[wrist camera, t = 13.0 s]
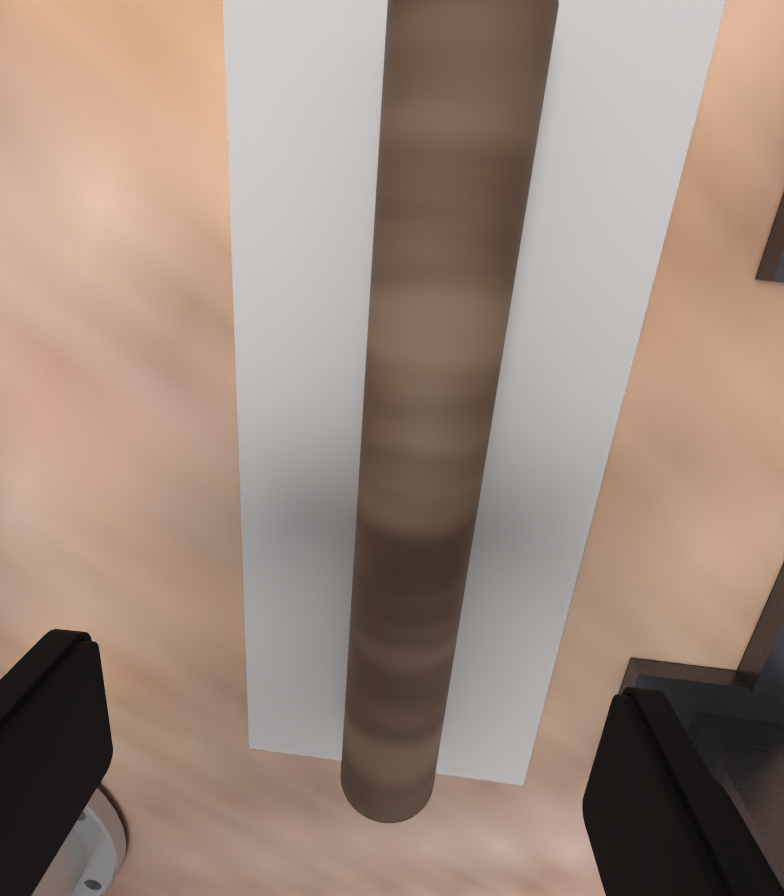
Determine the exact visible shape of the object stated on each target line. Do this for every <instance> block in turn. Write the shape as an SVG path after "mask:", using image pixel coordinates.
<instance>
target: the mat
mask: <svg viewBox="0 0 784 896" xmlns="http://www.w3.org/2000/svg"><path fill="white" fill-rule="evenodd" d="M387 4H388V0H223V21H224V50H225V78H226V107H227V136H228V164H229V193H230V222H231V251H232V279H233V308H234V337H235V365H236V394H237V423H238V452H239V480H240V509H241V538H242V566H243V595H244V624H245V653H246V681H247V710H248V739H249V749H256V750H263V751H271V752H278V753H286V754H293V755H300V756H308V757H315V758H323V759H330V760H337V761H342V746H343V729H344V713H345V696H346V680H347V663H348V647H349V630H350V614H351V597H352V581H353V564H354V548H355V531H356V515H357V498H358V482H359V466H360V449H361V433H362V416H363V400H364V383H365V367H366V350H367V334H368V317H369V301H370V284H371V268H372V251H373V235H374V218H375V202H376V185H377V169H378V153H379V136H380V120H381V103H382V87H383V70H384V54H385V37H386V21H387ZM725 4H726V0H559V7H558V14H557V20H556V26H555V32H554V38H553V45H552V51H551V57H550V63H549V69H548V76H547V82H546V88H545V94H544V101H543V107H542V113H541V119H540V125H539V132H538V138H537V144H536V150H535V157H534V163H533V169H532V175H531V181H530V188H529V194H528V200H527V206H526V212H525V219H524V225H523V231H522V237H521V244H520V250H519V256H518V262H517V268H516V275H515V281H514V287H513V293H512V299H511V306H510V312H509V318H508V324H507V331H506V337H505V343H504V349H503V355H502V362H501V368H500V374H499V380H498V387H497V393H496V399H495V405H494V411H493V418H492V424H491V430H490V436H489V442H488V449H487V455H486V461H485V467H484V474H483V480H482V486H481V492H480V498H479V505H478V511H477V517H476V523H475V529H474V536H473V542H472V548H471V554H470V561H469V567H468V573H467V579H466V585H465V592H464V598H463V604H462V610H461V617H460V623H459V629H458V635H457V641H456V648H455V654H454V660H453V666H452V672H451V679H450V685H449V691H448V697H447V704H446V710H445V716H444V722H443V728H442V735H441V741H440V747H439V753H438V759H437V766H436V772H435V774H441V775H448V776H456V777H463V778H471V779H478V780H485V781H493V782H500V783H508V784H515V785H522V786H523V785H524V781H525V777H526V773H527V769H528V766H529V762H530V758H531V754H532V750H533V746H534V742H535V739H536V735H537V731H538V727H539V723H540V719H541V715H542V711H543V708H544V704H545V700H546V696H547V692H548V688H549V684H550V681H551V677H552V673H553V669H554V665H555V661H556V657H557V653H558V650H559V646H560V642H561V638H562V634H563V630H564V626H565V623H566V619H567V615H568V611H569V607H570V603H571V599H572V595H573V592H574V588H575V584H576V580H577V576H578V572H579V568H580V564H581V561H582V557H583V553H584V549H585V545H586V541H587V537H588V534H589V530H590V526H591V522H592V518H593V514H594V510H595V506H596V503H597V499H598V495H599V491H600V487H601V483H602V479H603V476H604V472H605V468H606V464H607V460H608V456H609V452H610V448H611V445H612V441H613V437H614V433H615V429H616V425H617V421H618V418H619V414H620V410H621V406H622V402H623V398H624V394H625V390H626V387H627V383H628V379H629V375H630V371H631V367H632V363H633V359H634V356H635V352H636V348H637V344H638V340H639V336H640V332H641V329H642V325H643V321H644V317H645V313H646V309H647V305H648V301H649V298H650V294H651V290H652V286H653V282H654V278H655V274H656V271H657V267H658V263H659V259H660V255H661V251H662V247H663V243H664V240H665V236H666V232H667V228H668V224H669V220H670V216H671V213H672V209H673V205H674V201H675V197H676V193H677V189H678V185H679V182H680V178H681V174H682V170H683V166H684V162H685V158H686V154H687V151H688V147H689V143H690V139H691V135H692V131H693V127H694V124H695V120H696V116H697V112H698V108H699V104H700V100H701V96H702V93H703V89H704V85H705V81H706V77H707V73H708V69H709V66H710V62H711V58H712V54H713V50H714V46H715V42H716V38H717V35H718V31H719V27H720V23H721V19H722V15H723V11H724V8H725Z"/></svg>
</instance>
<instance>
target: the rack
mask: <svg viewBox="0 0 784 896" xmlns="http://www.w3.org/2000/svg"><path fill="white" fill-rule="evenodd" d="M756 279H760V280H767V281H776V282H784V195H783V198H782V201H781V204H780V207H779V210H778V213H777V216H776V219H775V222H774V225H773V228H772V231H771V234H770V237H769V240H768V243H767V246H766V250H765V253H764V256H763V259H762V262H761V265H760V268H759V271H758V274H757V277H756ZM626 687H635V688H645V689H655V690H660V691H662V692H663V693H664V694H665V695H666V697H667V698H668V700H669V702H670V704H671V705H672V707H673V709H674V711H675V713H676V714H677V716H678V718H679V720H680V721H681V723H682V725H683V727H684V728H685V730H686V732H687V734H688V736H689V737H690V739H691V741H692V743H693V744H694V746H695V748H696V750H697V751H698V753H699V755H700V757H701V759H702V760H703V762H704V764H705V766H706V767H707V769H708V771H709V773H710V774H711V776H712V778H713V779H715V780H716V781H717V782H718V783H720V784H721V785H722V786H723V787H724V789H725V790H726V792H727V793H728V794H729V796H730V798H731V799H732V801H733V803H734V804H735V806H736V808H737V810H738V811H739V813H740V815H741V817H742V818H743V820H744V822H745V823H746V825H747V827H748V829H749V830H750V832H751V834H752V836H753V837H754V839H755V841H756V843H757V844H758V846H759V848H760V849H761V851H762V853H763V855H764V856H765V858H766V860H767V862H768V863H769V865H770V867H771V868H772V870H773V872H774V874H775V875H776V877H777V879H778V881H779V882H780V884H781V886H782V887H783V889H784V565H783V567H782V570H781V572H780V574H779V576H778V579H777V581H776V583H775V586H774V588H773V590H772V593H771V595H770V597H769V599H768V602H767V604H766V606H765V609H764V611H763V613H762V616H761V618H760V620H759V622H758V625H757V627H756V629H755V632H754V634H753V636H752V639H751V641H750V643H749V645H748V648H747V650H746V652H745V655H744V657H743V659H742V662H741V664H740V666H739V668H738V671H731V670H723V669H715V668H706V667H698V666H690V665H682V664H674V663H666V662H657V661H649V660H641V659H633V658H631V660H630V663H629V666H628V669H627V672H626V675H625V678H624V681H623V684H622V687H621V690H620V693H619V695H621V694H622V692H623V690H624V689H625V688H626Z"/></svg>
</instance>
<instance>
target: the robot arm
mask: <svg viewBox="0 0 784 896" xmlns="http://www.w3.org/2000/svg"><path fill="white" fill-rule="evenodd" d="M112 754H113V746H112V739H111V731H110V724H109V717H108V710H107V702H106V695H105V688H104V681H103V673H102V666H101V659H100V652H99V646H98V644H97V643H96V642H93V641H92V640H91V637H90V635H89V634H88V633H87V632H80V631H70V630H60V629H54V630H51V631H49V632H48V633H47V634H45V635H44V636H43V637H42V638H41V639H40V640H39V641H38V642H37V643H36V644H35V645H34V646H33V647H32V648H31V649H30V650H29V651H28V652H27V653H26V654H25V655H24V656H23V657H22V658H21V659H20V660H19V661H18V662H17V663H16V664H15V665H14V667H13V668H12V669H11V670H10V671H9V672H8V673H7V674H6V675H5V676H4V677H3V678H2V679H1V680H0V896H101V895H102V894H104V893H105V892H106V891H107V890H108V888H109V887H110V885H111V884H112V882H113V881H114V879H115V877H116V875H117V873H118V871H119V869H120V866H121V864H122V862H123V860H124V858H125V851H126V839H125V833H124V828H123V825H122V823H121V821H120V819H119V817H118V814H117V812H116V810H115V809H114V807H113V806H112V805H111V803H110V802H109V800H108V799H107V798H106V796H105V795H104V794H103V793H102V792H101V791H100V790H99V789H98V788H97V787H98V785H99V784H100V782H101V780H102V779H103V777H104V775H105V774H106V772H107V770H108V768H109V765H110V763H111V759H112ZM582 807H583V818H584V822H585V826H586V830H587V833H588V836H589V840H590V843H591V847H592V850H593V853H594V857H595V860H596V864H597V867H598V870H599V874H600V877H601V881H602V884H603V887H604V891H605V894H606V896H784V889H783V887H782V886H781V884H780V882H779V881H778V879H777V877H776V875H775V874H774V872H773V870H772V868H771V867H770V865H769V863H768V862H767V860H766V858H765V856H764V855H763V853H762V851H761V849H760V848H759V846H758V844H757V843H756V841H755V839H754V837H753V836H752V834H751V832H750V830H749V829H748V827H747V825H746V823H745V822H744V820H743V818H742V817H741V815H740V813H739V811H738V810H737V808H736V806H735V804H734V803H733V801H732V799H731V798H730V796H729V794H728V793H727V792H726V790H725V789H724V787H723V786H722V785H721V784H720V783H718V782H717V781H716V780H715V779H713V778H712V776H711V774H710V773H709V771H708V769H707V767H706V766H705V764H704V762H703V760H702V759H701V757H700V755H699V753H698V751H697V750H696V748H695V746H694V744H693V743H692V741H691V739H690V737H689V736H688V734H687V732H686V730H685V728H684V727H683V725H682V723H681V721H680V720H679V718H678V716H677V714H676V713H675V711H674V709H673V707H672V705H671V704H670V702H669V700H668V698H667V697H666V695H665V694H664V693H663V692H662V691H660V690H655V689H645V688H635V687H626V688H625V689H624V690H623V692H622V694H621V695H615V696H614V697H613V699H612V702H611V705H610V709H609V712H608V716H607V719H606V722H605V726H604V729H603V733H602V736H601V739H600V743H599V746H598V749H597V753H596V756H595V760H594V763H593V766H592V770H591V773H590V777H589V780H588V783H587V787H586V790H585V794H584V797H583V806H582Z"/></svg>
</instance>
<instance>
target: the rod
mask: <svg viewBox="0 0 784 896" xmlns="http://www.w3.org/2000/svg"><path fill="white" fill-rule="evenodd" d="M558 7H559V0H388V4H387V21H386V37H385V54H384V70H383V87H382V103H381V120H380V136H379V153H378V169H377V185H376V202H375V218H374V235H373V251H372V268H371V284H370V301H369V317H368V334H367V350H366V367H365V383H364V400H363V416H362V433H361V449H360V466H359V482H358V498H357V515H356V531H355V548H354V564H353V581H352V597H351V614H350V630H349V647H348V663H347V680H346V696H345V713H344V729H343V746H342V762H341V784H342V788H343V792H344V794H345V796H346V798H347V800H348V801H349V803H350V804H351V805H352V807H353V808H354V809H355V810H356V811H358V812H359V813H360V814H362V815H363V816H365V817H367V818H368V819H371V820H373V821H377V822H381V823H397V822H402V821H405V820H408V819H410V818H412V817H413V816H415V815H416V814H418V813H419V812H420V811H421V810H422V809H423V808H424V807H425V805H426V804H427V802H428V800H429V799H430V796H431V794H432V790H433V784H434V778H435V772H436V766H437V759H438V753H439V747H440V741H441V735H442V728H443V722H444V716H445V710H446V704H447V697H448V691H449V685H450V679H451V672H452V666H453V660H454V654H455V648H456V641H457V635H458V629H459V623H460V617H461V610H462V604H463V598H464V592H465V585H466V579H467V573H468V567H469V561H470V554H471V548H472V542H473V536H474V529H475V523H476V517H477V511H478V505H479V498H480V492H481V486H482V480H483V474H484V467H485V461H486V455H487V449H488V442H489V436H490V430H491V424H492V418H493V411H494V405H495V399H496V393H497V387H498V380H499V374H500V368H501V362H502V355H503V349H504V343H505V337H506V331H507V324H508V318H509V312H510V306H511V299H512V293H513V287H514V281H515V275H516V268H517V262H518V256H519V250H520V244H521V237H522V231H523V225H524V219H525V212H526V206H527V200H528V194H529V188H530V181H531V175H532V169H533V163H534V157H535V150H536V144H537V138H538V132H539V125H540V119H541V113H542V107H543V101H544V94H545V88H546V82H547V76H548V69H549V63H550V57H551V51H552V45H553V38H554V32H555V26H556V20H557V14H558Z"/></svg>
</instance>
